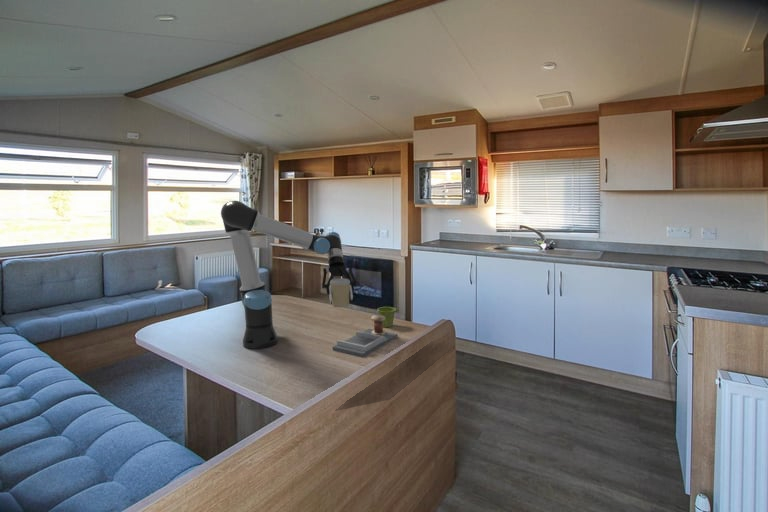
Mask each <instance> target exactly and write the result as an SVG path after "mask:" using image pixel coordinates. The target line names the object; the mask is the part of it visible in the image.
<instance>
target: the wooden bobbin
mask: <svg viewBox="0 0 768 512" xmlns="http://www.w3.org/2000/svg"><path fill="white" fill-rule="evenodd" d="M384 320H385V316H382V315H379V314H378V315H372V316H371V321H373V331H372V334H375V335H380V336H383V335H385V332H386V330H384V329H383V328H384V327H383V321H384Z"/></svg>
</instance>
